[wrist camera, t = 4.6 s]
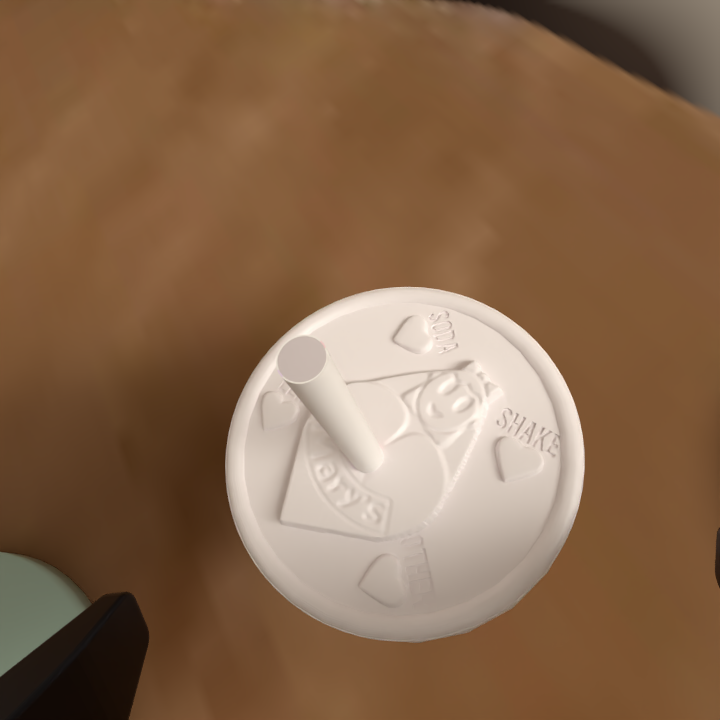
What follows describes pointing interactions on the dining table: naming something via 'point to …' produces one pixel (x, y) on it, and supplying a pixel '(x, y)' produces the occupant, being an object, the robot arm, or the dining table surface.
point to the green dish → (33, 605)
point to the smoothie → (405, 464)
